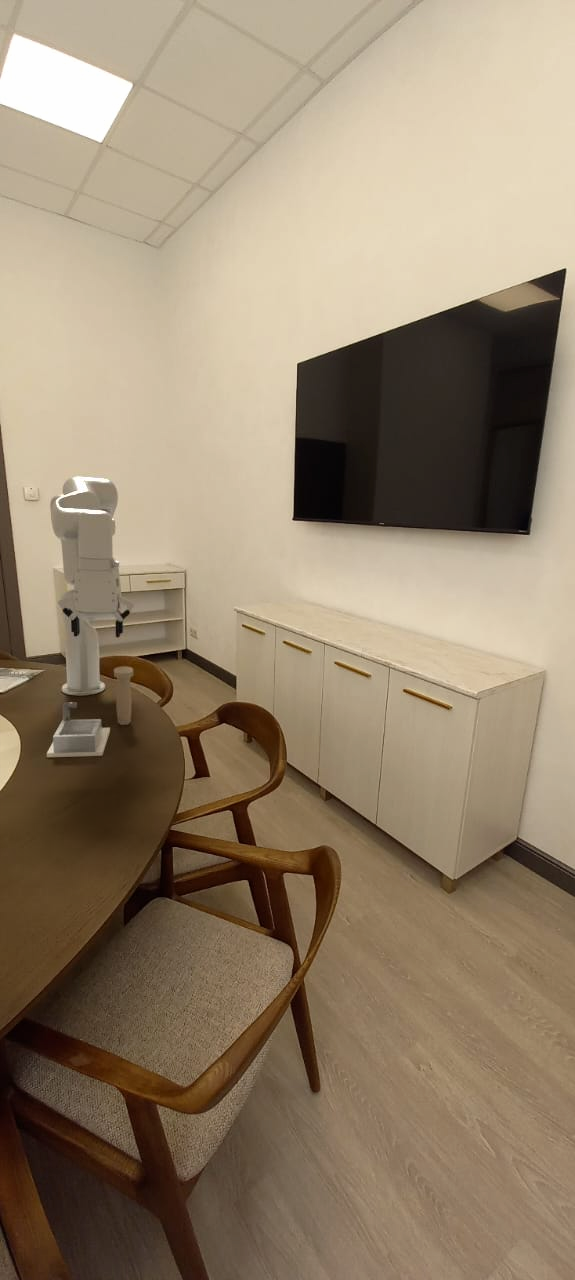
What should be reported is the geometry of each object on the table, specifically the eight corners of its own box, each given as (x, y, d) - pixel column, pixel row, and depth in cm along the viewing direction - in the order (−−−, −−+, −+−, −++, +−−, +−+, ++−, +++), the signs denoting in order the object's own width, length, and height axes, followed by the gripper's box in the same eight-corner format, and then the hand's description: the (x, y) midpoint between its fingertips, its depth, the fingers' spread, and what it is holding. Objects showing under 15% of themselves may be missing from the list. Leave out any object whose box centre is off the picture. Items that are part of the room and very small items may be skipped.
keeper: (60, 732, 131) (59, 699, 129) (110, 731, 133) (109, 699, 131) (46, 757, 118) (45, 721, 116) (102, 755, 120) (101, 720, 118)
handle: (133, 718, 142) (132, 666, 139) (133, 727, 137) (133, 673, 133) (114, 719, 141) (114, 666, 138) (114, 728, 135) (113, 673, 132)
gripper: (135, 565, 127) (136, 633, 131) (61, 561, 124) (64, 631, 128) (131, 568, 120) (132, 640, 124) (52, 565, 117) (55, 638, 121)
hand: (97, 635), depth 126 cm, fingers open, 9 cm apart
